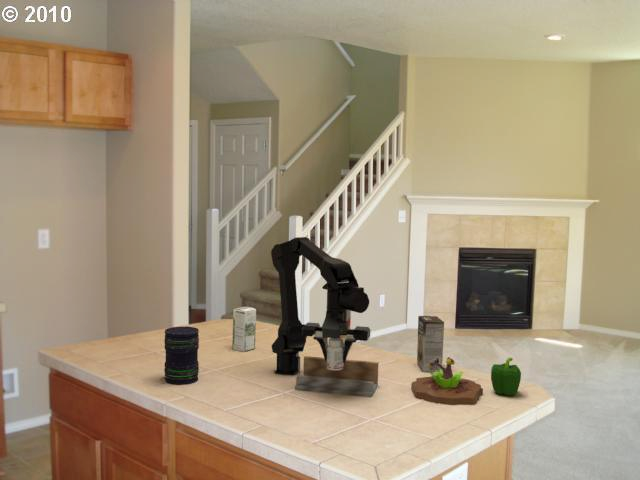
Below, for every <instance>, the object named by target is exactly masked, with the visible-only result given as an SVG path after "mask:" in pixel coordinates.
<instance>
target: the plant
mask: <svg viewBox="0 0 640 480" xmlns="http://www.w3.org/2000/svg"><path fill="white" fill-rule="evenodd" d="M455 362H456V361H455V360H454V359H453V358H451V357H450V356H449V357H447V358H446V360H445V363H446V367H443V364H442V365H440V364H438V363H435V362H431V363H429V364H428V366H429V367H430V368H432V367H433V365H434V364H435V365H438V366H439V367H440V368H441V370H440V372H438V371H435V372H428V374H429V375H430V376H424V377H423V376H422V377H417V378H416V380H415V381H412V382H411V387H410V388H411V392H412V393H413V396H414V398H415V399H417V400H422V399H423V400H422V401H426V402H429V403H433V402H434V403H433V404H439V403H440V404H441V405H450V406H456V405H469V406H475V405H476V404H477V401H478V400H479V399H480V397H481V396H483V395H484V393H483V392H484V391H483V390H484V389H483V388H482V385H481V384H479V383H477V382H476V381H475V380H470V379H467V378H464V377H462V376H463V374H464V372H462V371H461V372H457V373H456V374H453V370H452V365H453V366H454V365H455Z"/></svg>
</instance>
